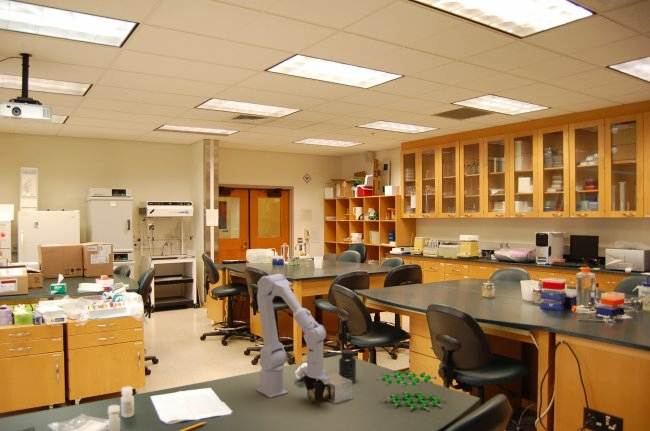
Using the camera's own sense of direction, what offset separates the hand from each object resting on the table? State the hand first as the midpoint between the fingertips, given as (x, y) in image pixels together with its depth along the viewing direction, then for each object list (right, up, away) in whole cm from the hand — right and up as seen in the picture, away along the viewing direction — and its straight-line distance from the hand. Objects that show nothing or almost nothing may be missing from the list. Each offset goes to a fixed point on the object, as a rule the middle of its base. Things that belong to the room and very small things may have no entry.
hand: (315, 398), depth 174 cm
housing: (+7, -1, +5) cm, 9 cm away
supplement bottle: (+13, -1, +22) cm, 25 cm away
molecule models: (+34, -2, +1) cm, 34 cm away
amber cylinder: (+3, 0, +2) cm, 3 cm away
